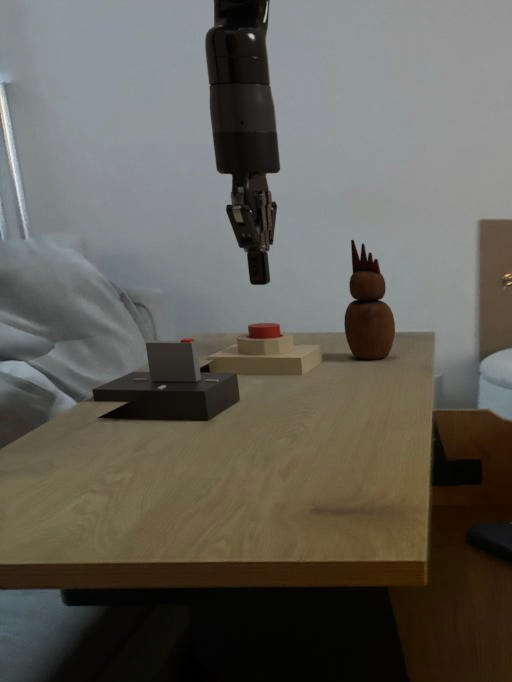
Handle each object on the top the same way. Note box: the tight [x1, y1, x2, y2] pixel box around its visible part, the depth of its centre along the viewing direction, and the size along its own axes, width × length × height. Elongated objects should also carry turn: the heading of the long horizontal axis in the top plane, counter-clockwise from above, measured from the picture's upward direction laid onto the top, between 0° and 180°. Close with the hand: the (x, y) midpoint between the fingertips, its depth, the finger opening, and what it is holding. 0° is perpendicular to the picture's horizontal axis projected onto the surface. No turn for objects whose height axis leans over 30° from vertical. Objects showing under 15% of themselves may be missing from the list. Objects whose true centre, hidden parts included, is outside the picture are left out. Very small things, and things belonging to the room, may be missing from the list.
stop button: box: [247, 322, 282, 339], centre depth 126 cm, size 4×4×2 cm
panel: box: [92, 371, 241, 421], centre depth 105 cm, size 12×10×3 cm
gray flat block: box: [145, 338, 201, 382], centre depth 104 cm, size 5×1×4 cm, turn 84°
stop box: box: [207, 331, 323, 376], centre depth 127 cm, size 12×10×4 cm
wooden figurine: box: [343, 239, 396, 361], centre depth 131 cm, size 7×6×15 cm
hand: (260, 284), depth 124 cm, fingers closed
